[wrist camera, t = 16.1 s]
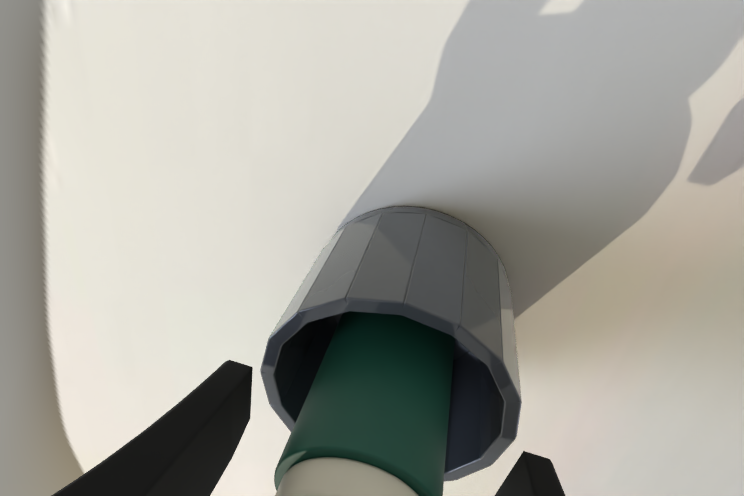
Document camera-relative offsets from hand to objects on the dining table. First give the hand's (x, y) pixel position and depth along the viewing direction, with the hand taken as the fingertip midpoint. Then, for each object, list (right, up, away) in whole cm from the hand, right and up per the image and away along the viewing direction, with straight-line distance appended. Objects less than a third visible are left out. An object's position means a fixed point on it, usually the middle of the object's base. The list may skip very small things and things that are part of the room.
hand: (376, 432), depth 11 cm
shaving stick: (+1, +3, +4) cm, 5 cm away
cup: (+1, +3, +5) cm, 6 cm away
